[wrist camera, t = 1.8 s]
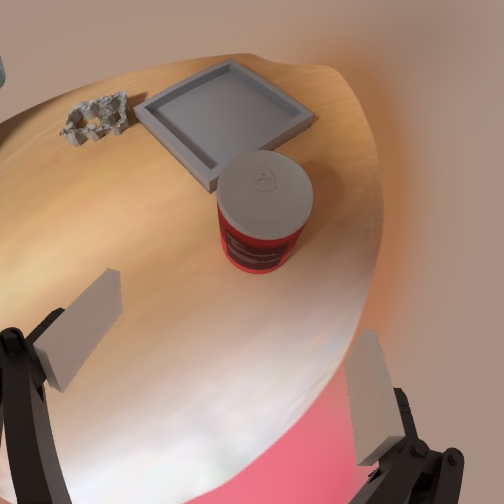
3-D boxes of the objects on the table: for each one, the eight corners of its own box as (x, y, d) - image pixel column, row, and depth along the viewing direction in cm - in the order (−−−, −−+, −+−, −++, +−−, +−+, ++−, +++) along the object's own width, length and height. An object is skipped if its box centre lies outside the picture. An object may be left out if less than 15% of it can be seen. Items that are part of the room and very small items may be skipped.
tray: (137, 119, 38) (133, 107, 36) (230, 69, 43) (230, 58, 41) (210, 193, 34) (208, 182, 32) (310, 126, 39) (314, 114, 37)
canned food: (271, 200, 35) (285, 139, 24) (303, 259, 32) (333, 214, 22) (210, 223, 33) (201, 166, 23) (239, 287, 31) (241, 252, 20)
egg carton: (66, 152, 36) (55, 135, 32) (76, 118, 39) (67, 102, 35) (128, 137, 37) (120, 118, 33) (134, 103, 40) (128, 85, 36)
